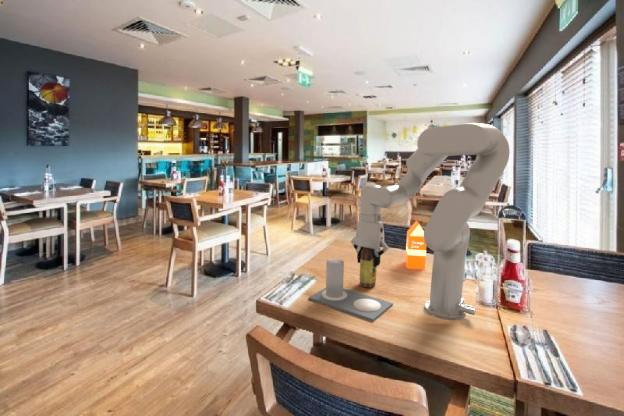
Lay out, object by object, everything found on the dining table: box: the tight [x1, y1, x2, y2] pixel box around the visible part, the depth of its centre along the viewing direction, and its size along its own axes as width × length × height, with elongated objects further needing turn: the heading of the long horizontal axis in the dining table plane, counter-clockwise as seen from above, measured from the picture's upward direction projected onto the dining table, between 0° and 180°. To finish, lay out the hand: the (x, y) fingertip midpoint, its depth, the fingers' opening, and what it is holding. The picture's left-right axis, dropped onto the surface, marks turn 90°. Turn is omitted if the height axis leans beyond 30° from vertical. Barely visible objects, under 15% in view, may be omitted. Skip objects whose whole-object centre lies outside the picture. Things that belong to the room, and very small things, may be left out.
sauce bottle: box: [359, 247, 378, 288], centre depth 133 cm, size 6×6×20 cm
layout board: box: [308, 258, 394, 322], centre depth 119 cm, size 25×14×13 cm, turn 53°
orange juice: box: [405, 220, 427, 270], centre depth 156 cm, size 8×9×20 cm
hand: (368, 263), depth 134 cm, fingers closed on sauce bottle, 6 cm apart
